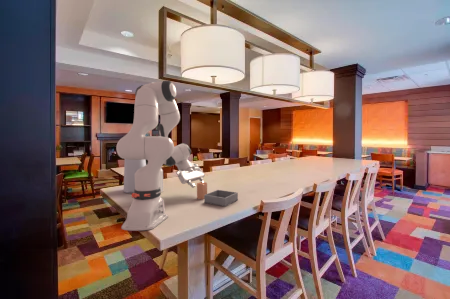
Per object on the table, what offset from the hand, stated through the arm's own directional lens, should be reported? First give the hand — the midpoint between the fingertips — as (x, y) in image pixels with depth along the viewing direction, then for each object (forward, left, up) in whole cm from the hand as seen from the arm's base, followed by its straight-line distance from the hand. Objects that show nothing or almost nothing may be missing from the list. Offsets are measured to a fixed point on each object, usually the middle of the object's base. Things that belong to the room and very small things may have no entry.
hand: (198, 185), depth 144 cm
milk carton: (+14, +32, -8) cm, 35 cm away
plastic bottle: (+18, +47, -8) cm, 51 cm away
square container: (-1, -2, -8) cm, 8 cm away
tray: (-8, -14, -8) cm, 18 cm away
